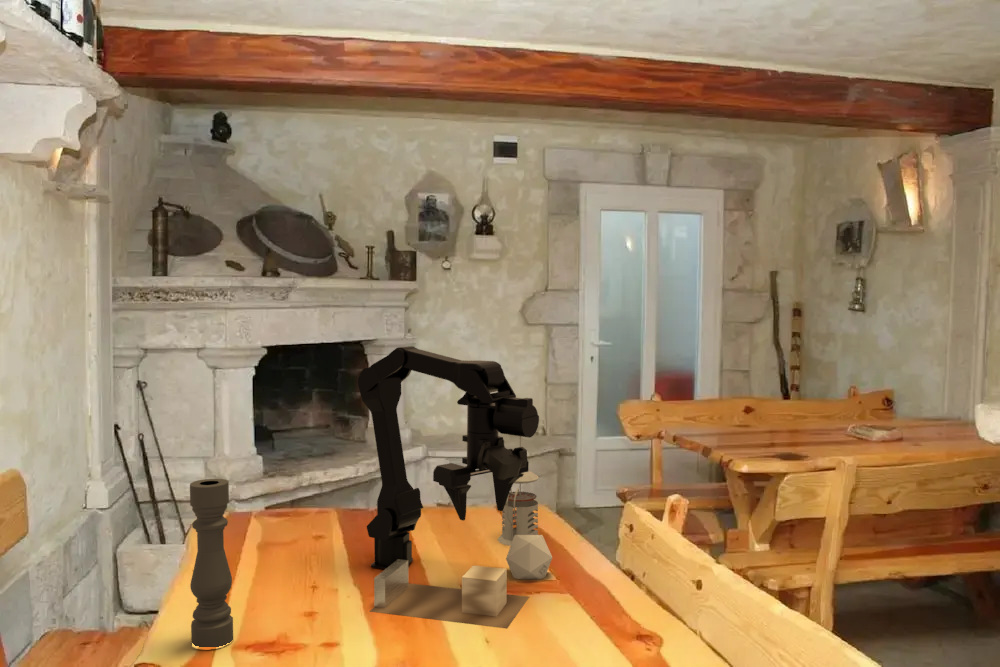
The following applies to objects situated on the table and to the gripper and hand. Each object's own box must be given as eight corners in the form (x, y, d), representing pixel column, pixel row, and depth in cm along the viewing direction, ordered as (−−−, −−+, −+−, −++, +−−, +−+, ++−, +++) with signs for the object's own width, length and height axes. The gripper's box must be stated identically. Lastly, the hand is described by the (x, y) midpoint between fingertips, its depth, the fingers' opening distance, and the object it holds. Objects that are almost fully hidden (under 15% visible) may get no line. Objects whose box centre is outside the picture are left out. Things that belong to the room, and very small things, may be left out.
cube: (461, 612, 139) (461, 577, 138) (473, 599, 144) (473, 565, 144) (496, 616, 137) (496, 580, 137) (506, 603, 143) (506, 568, 142)
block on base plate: (369, 615, 139) (368, 581, 139) (402, 586, 153) (402, 555, 152) (507, 633, 132) (507, 597, 132) (529, 601, 146) (529, 568, 145)
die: (537, 594, 151) (564, 546, 153) (494, 568, 152) (523, 520, 155) (534, 594, 159) (560, 548, 162) (494, 569, 160) (521, 524, 163)
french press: (547, 535, 184) (548, 423, 183) (532, 551, 173) (533, 432, 172) (505, 531, 187) (505, 421, 186) (488, 546, 176) (488, 429, 175)
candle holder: (197, 634, 132) (194, 478, 131) (237, 632, 133) (234, 477, 131) (186, 651, 126) (182, 488, 124) (228, 649, 126) (225, 487, 125)
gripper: (472, 444, 139) (471, 536, 140) (550, 431, 152) (548, 515, 153) (431, 434, 147) (430, 521, 148) (508, 422, 160) (507, 502, 161)
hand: (481, 515), depth 152 cm, fingers open, 9 cm apart
